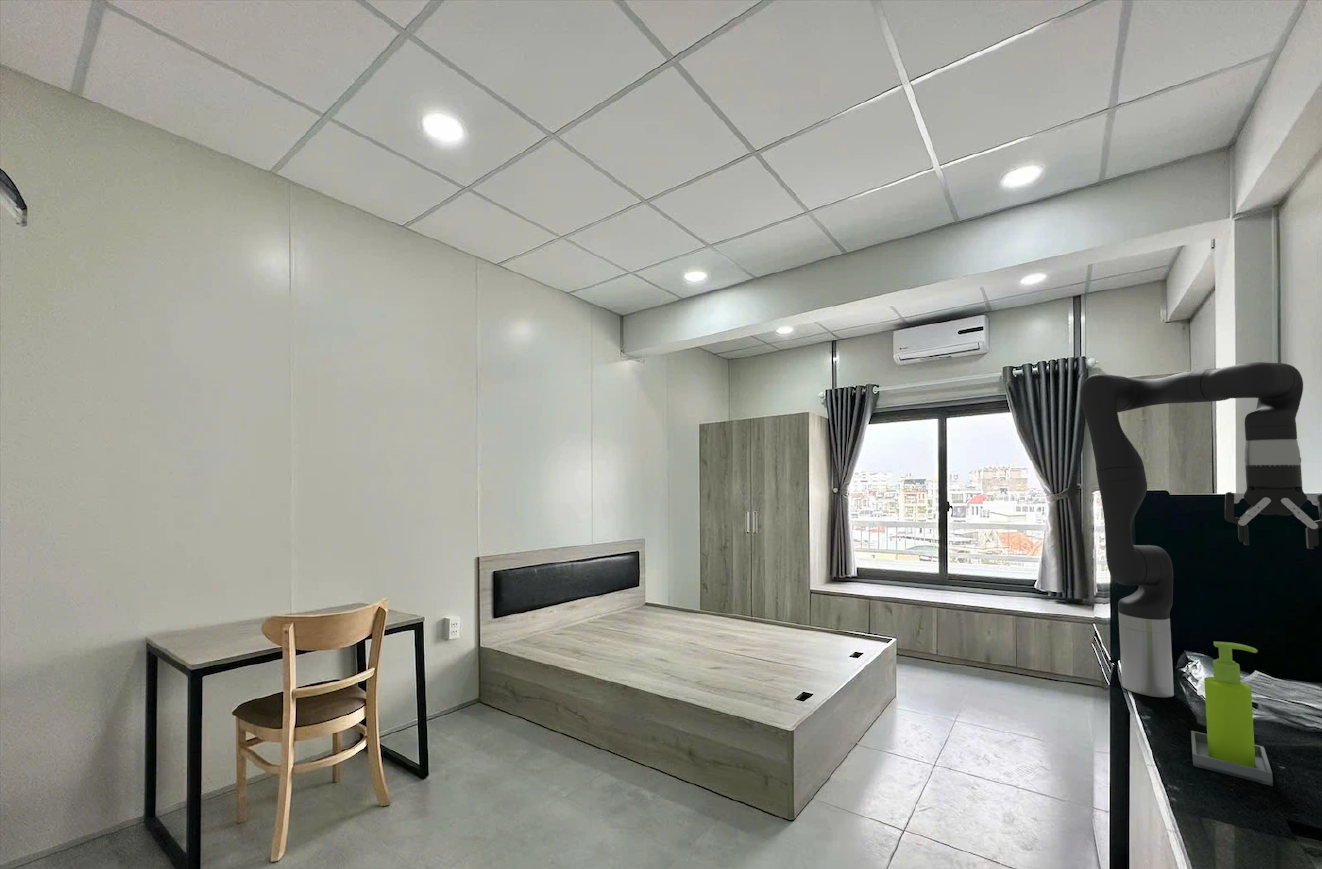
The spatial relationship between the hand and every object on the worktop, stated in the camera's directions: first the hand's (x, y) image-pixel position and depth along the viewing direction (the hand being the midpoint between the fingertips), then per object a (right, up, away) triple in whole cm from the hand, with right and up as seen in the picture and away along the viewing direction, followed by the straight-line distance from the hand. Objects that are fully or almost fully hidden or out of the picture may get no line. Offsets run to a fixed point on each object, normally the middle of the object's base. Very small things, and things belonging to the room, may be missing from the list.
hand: (1277, 546), depth 112 cm
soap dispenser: (-20, -35, -12) cm, 42 cm away
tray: (-21, -36, -12) cm, 43 cm away
